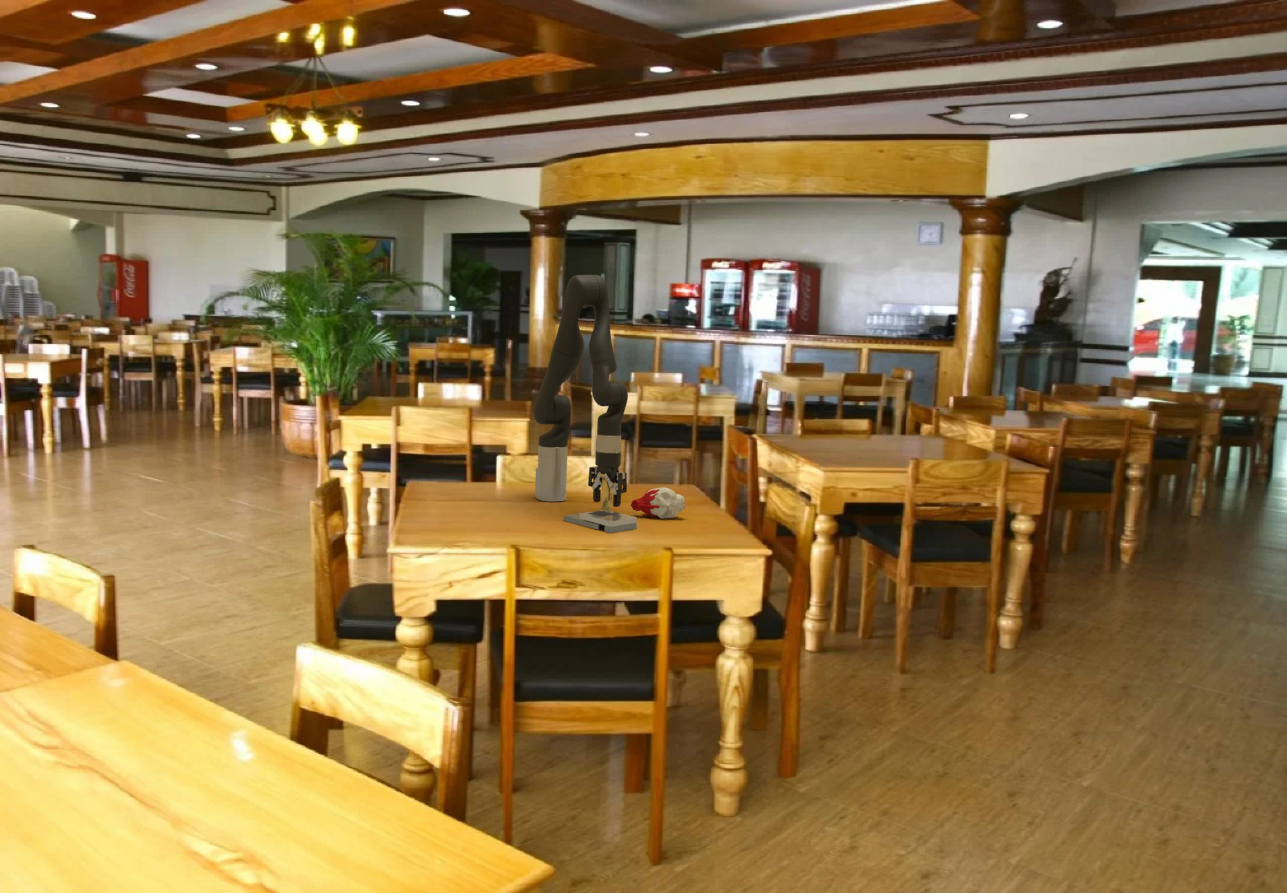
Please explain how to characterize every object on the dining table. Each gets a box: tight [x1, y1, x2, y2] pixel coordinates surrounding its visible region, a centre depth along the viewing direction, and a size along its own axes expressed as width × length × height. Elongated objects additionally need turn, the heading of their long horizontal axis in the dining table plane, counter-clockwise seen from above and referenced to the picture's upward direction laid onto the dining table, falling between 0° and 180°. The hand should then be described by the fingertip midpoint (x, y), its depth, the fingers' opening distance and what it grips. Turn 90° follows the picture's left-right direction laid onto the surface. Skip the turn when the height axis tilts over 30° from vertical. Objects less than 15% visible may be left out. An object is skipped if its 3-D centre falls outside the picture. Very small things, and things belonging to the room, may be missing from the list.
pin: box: [600, 474, 613, 511], centre depth 317 cm, size 4×4×13 cm
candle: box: [630, 487, 687, 519], centre depth 321 cm, size 9×11×15 cm
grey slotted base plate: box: [563, 509, 638, 534], centre depth 307 cm, size 20×10×3 cm, turn 45°
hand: (606, 504), depth 317 cm, fingers open, 8 cm apart
